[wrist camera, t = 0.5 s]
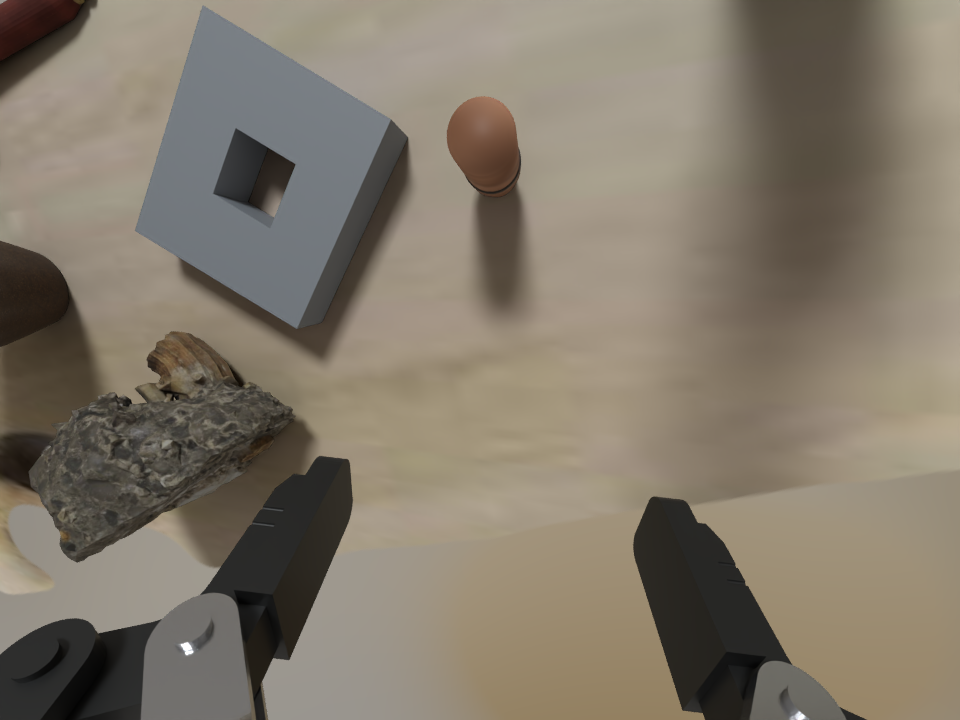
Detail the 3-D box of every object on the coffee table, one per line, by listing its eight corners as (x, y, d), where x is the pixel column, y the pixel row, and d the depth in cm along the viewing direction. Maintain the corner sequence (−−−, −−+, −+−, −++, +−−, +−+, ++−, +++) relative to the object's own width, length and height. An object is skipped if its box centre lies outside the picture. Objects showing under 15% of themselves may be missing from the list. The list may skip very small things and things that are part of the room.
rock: (87, 632, 26) (-130, 463, 21) (129, 548, 38) (-5, 429, 33) (326, 445, 34) (208, 296, 30) (298, 425, 47) (211, 316, 42)
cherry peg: (488, 138, 32) (468, 80, 22) (532, 165, 32) (531, 118, 22) (462, 186, 33) (432, 151, 23) (505, 212, 33) (493, 188, 23)
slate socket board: (242, 36, 32) (202, 5, 28) (408, 137, 32) (390, 119, 28) (176, 234, 37) (135, 230, 33) (321, 322, 37) (296, 328, 33)
